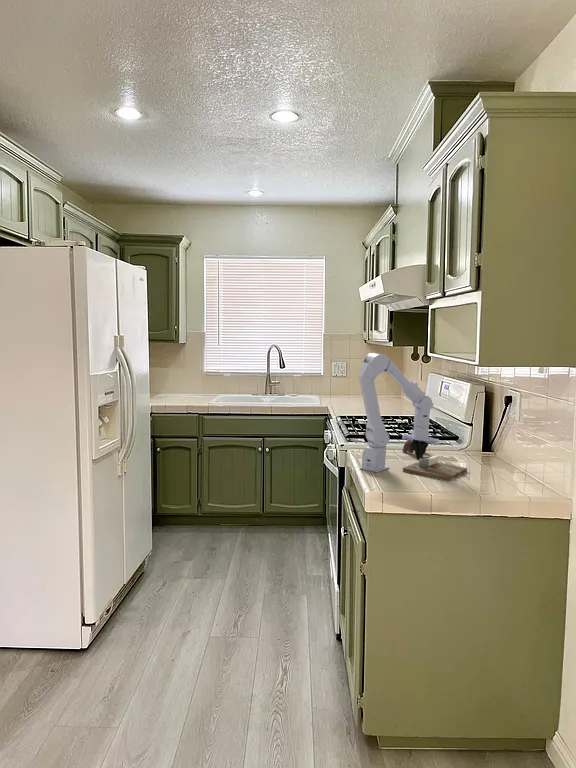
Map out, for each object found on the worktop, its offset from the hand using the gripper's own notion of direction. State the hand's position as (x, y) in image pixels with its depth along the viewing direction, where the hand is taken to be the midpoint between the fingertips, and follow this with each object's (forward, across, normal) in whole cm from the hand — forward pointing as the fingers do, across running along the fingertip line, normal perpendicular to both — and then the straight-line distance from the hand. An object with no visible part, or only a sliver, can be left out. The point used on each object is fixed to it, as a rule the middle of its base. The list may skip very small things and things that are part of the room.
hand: (419, 460), depth 222 cm
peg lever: (+1, -5, +1) cm, 5 cm away
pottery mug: (+3, +12, -21) cm, 25 cm away
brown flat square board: (+3, -8, +2) cm, 8 cm away
